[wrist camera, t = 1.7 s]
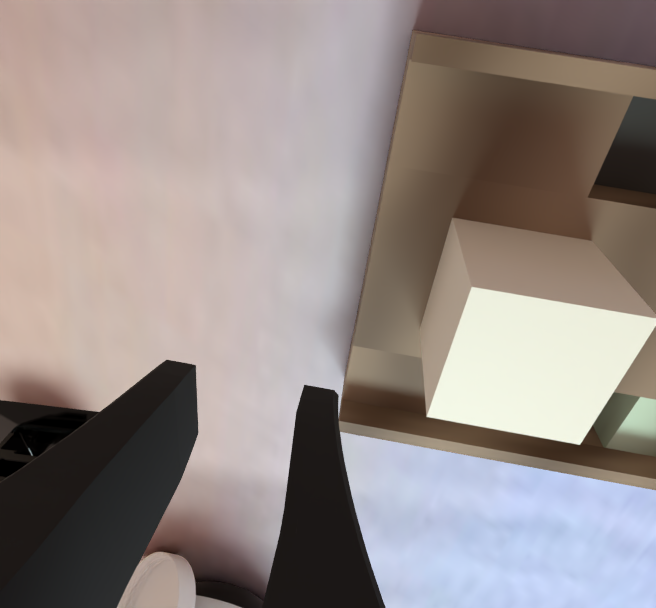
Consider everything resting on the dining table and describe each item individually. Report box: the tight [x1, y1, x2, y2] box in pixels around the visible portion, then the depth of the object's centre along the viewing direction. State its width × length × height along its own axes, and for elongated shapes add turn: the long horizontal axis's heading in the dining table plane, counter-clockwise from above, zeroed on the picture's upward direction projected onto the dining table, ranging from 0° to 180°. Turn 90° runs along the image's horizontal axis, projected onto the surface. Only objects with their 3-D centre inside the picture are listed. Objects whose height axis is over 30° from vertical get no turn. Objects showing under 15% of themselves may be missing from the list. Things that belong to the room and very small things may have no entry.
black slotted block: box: [0, 400, 99, 482], centre depth 25 cm, size 12×7×5 cm, turn 89°
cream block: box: [420, 218, 656, 445], centre depth 14 cm, size 4×4×4 cm
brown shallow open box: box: [339, 30, 656, 490], centre depth 16 cm, size 18×14×3 cm
